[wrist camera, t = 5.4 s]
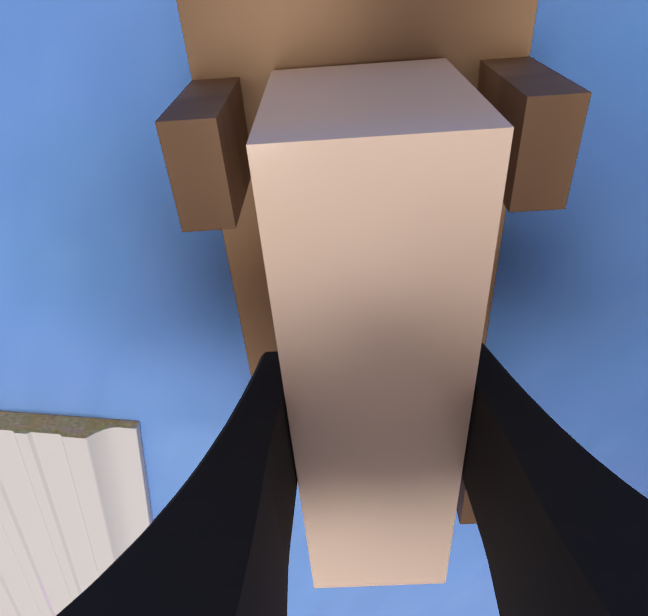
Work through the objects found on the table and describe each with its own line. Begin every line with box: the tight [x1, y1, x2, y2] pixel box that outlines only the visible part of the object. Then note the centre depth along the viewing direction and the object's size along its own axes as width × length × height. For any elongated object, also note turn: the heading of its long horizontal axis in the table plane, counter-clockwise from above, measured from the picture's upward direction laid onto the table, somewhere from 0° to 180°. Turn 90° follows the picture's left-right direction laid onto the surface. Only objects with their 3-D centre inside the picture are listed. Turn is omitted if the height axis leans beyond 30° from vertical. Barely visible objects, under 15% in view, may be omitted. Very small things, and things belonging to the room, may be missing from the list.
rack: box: [155, 0, 591, 524], centre depth 13 cm, size 7×15×4 cm, turn 4°
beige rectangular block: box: [246, 58, 514, 588], centre depth 12 cm, size 4×12×4 cm, turn 4°
